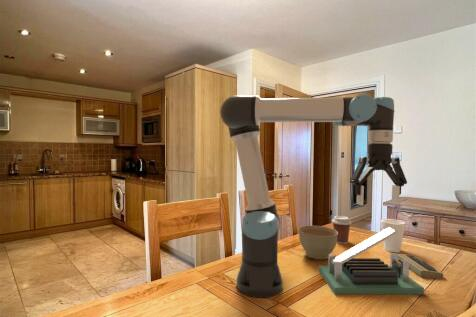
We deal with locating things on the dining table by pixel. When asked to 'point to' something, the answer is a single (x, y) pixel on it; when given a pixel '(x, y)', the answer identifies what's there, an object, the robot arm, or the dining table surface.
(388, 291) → the circuit board
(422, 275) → the computer
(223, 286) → the dining table surface
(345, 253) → the steel strap
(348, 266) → the heat sink mount
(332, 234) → the planter bowl
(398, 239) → the foam cup
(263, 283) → the robot arm
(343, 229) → the coffee cup
